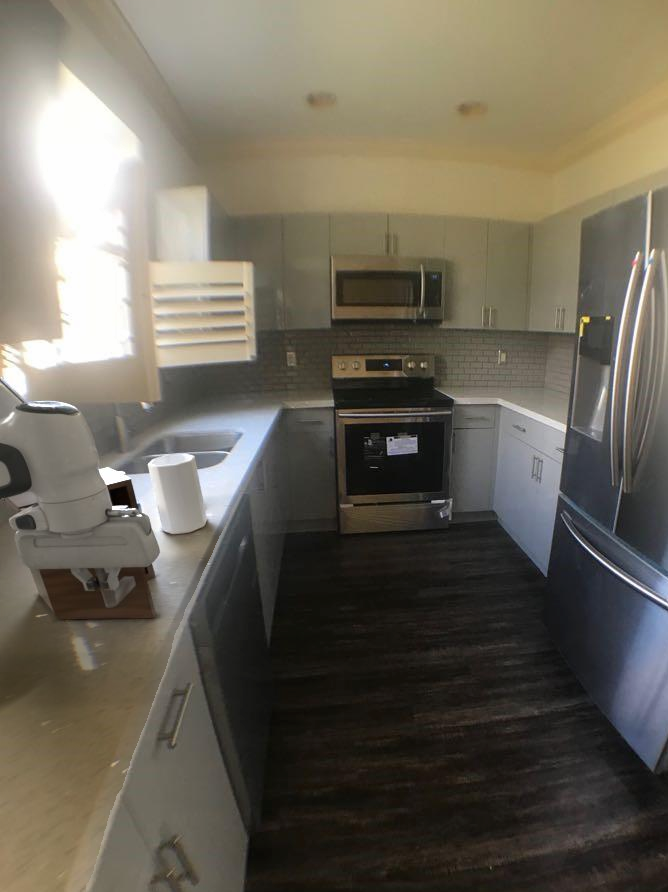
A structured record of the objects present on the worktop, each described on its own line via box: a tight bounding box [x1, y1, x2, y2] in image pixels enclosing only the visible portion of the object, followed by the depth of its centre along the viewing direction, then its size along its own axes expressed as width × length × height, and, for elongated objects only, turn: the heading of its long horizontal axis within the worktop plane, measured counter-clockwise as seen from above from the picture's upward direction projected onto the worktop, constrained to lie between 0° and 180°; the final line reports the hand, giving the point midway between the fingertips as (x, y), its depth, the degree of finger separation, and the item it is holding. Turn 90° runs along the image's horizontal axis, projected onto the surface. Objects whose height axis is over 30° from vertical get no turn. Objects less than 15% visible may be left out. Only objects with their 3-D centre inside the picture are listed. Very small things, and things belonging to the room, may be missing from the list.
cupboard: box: [3, 467, 156, 613], centre depth 92 cm, size 12×18×22 cm, turn 139°
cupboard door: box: [18, 506, 157, 620], centre depth 78 cm, size 8×18×22 cm, turn 89°
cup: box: [147, 453, 208, 535], centre depth 119 cm, size 11×11×18 cm
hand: (102, 588), depth 74 cm, fingers closed on cupboard door, 2 cm apart
